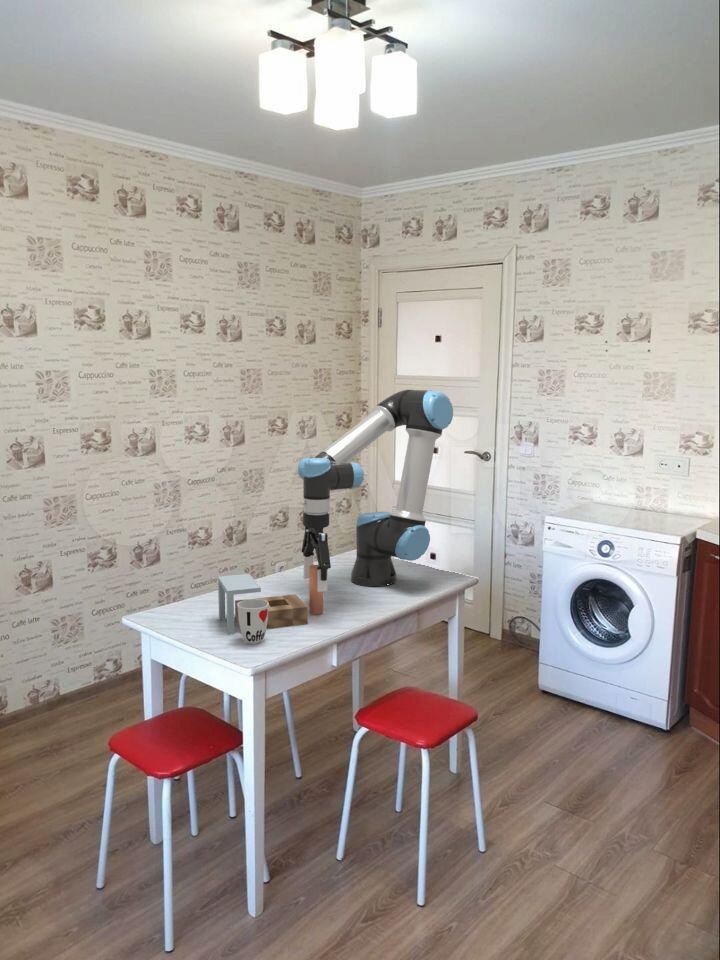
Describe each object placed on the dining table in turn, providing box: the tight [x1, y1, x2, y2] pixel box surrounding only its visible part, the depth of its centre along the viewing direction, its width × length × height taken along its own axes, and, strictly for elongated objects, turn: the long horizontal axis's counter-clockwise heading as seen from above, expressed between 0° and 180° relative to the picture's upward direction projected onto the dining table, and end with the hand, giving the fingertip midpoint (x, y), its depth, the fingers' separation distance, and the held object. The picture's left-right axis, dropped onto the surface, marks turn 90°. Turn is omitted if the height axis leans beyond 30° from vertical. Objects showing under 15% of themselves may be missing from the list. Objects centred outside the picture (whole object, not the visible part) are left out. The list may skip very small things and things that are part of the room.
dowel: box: [308, 564, 324, 616], centre depth 220 cm, size 4×4×14 cm
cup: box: [237, 598, 269, 645], centre depth 199 cm, size 8×8×10 cm
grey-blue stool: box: [217, 573, 262, 636], centre depth 210 cm, size 9×14×12 cm, turn 21°
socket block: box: [234, 593, 309, 630], centre depth 214 cm, size 18×12×5 cm, turn 111°
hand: (315, 584), depth 219 cm, fingers open, 13 cm apart
